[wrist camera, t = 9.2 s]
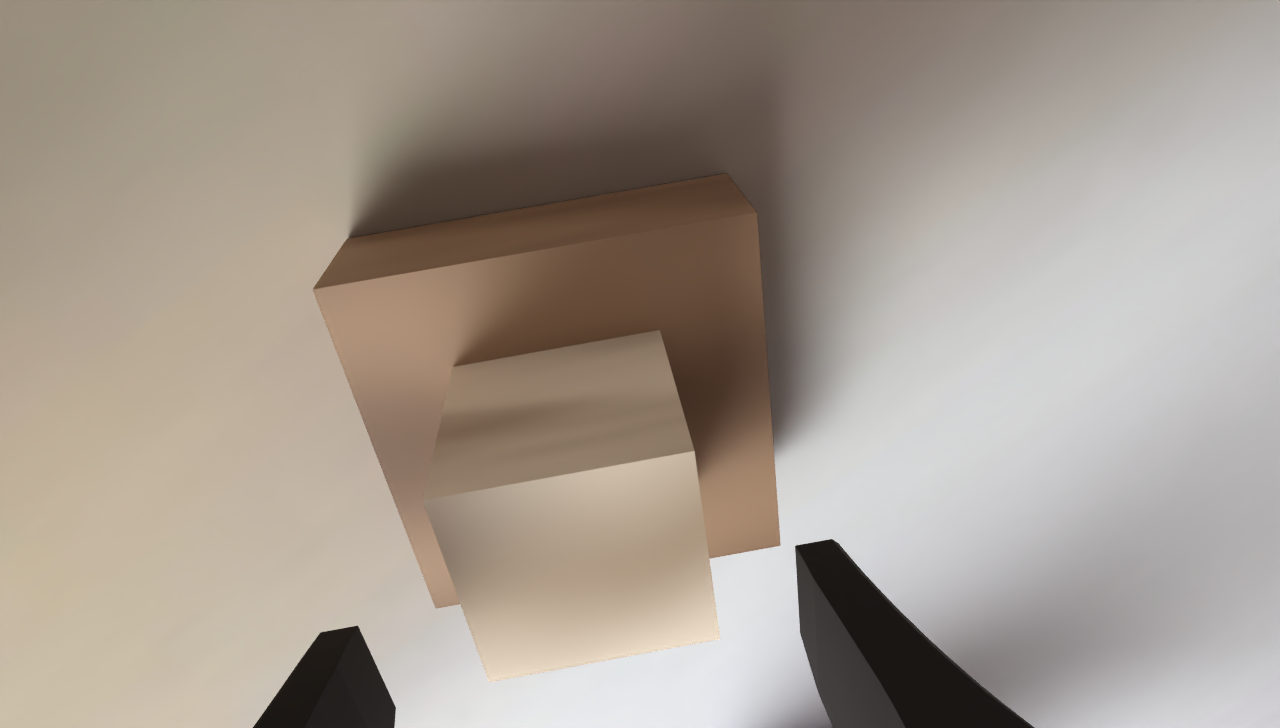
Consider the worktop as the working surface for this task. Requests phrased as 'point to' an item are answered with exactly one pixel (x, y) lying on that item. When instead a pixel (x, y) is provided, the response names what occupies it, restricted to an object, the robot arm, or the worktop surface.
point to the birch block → (571, 507)
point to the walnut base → (566, 332)
